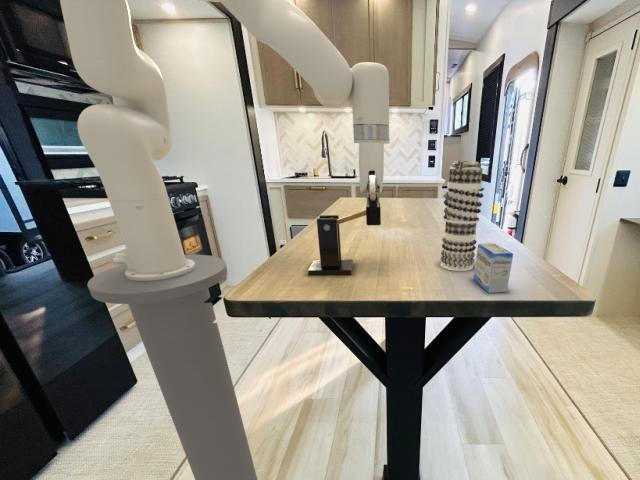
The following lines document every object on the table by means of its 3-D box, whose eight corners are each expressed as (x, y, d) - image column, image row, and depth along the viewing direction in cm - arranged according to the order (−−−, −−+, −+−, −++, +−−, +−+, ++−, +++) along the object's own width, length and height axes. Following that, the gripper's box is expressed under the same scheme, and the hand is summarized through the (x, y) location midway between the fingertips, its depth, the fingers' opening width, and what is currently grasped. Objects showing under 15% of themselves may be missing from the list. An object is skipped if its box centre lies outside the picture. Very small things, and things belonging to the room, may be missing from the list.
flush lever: (377, 212, 77) (373, 202, 76) (377, 216, 72) (373, 205, 71) (326, 229, 77) (322, 219, 76) (323, 234, 73) (319, 223, 72)
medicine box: (472, 280, 74) (477, 243, 70) (490, 279, 75) (495, 242, 71) (488, 293, 67) (493, 253, 63) (507, 292, 68) (514, 252, 64)
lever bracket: (353, 264, 83) (350, 214, 78) (351, 274, 76) (348, 220, 71) (314, 264, 82) (309, 213, 77) (308, 275, 75) (302, 220, 70)
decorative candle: (481, 270, 80) (495, 162, 70) (447, 272, 78) (456, 161, 68) (465, 259, 88) (476, 161, 78) (434, 261, 86) (440, 160, 76)
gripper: (355, 137, 75) (359, 215, 83) (350, 133, 59) (355, 230, 67) (387, 137, 75) (388, 215, 83) (391, 134, 60) (391, 230, 68)
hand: (373, 221), depth 75 cm, fingers closed on flush lever, 5 cm apart
